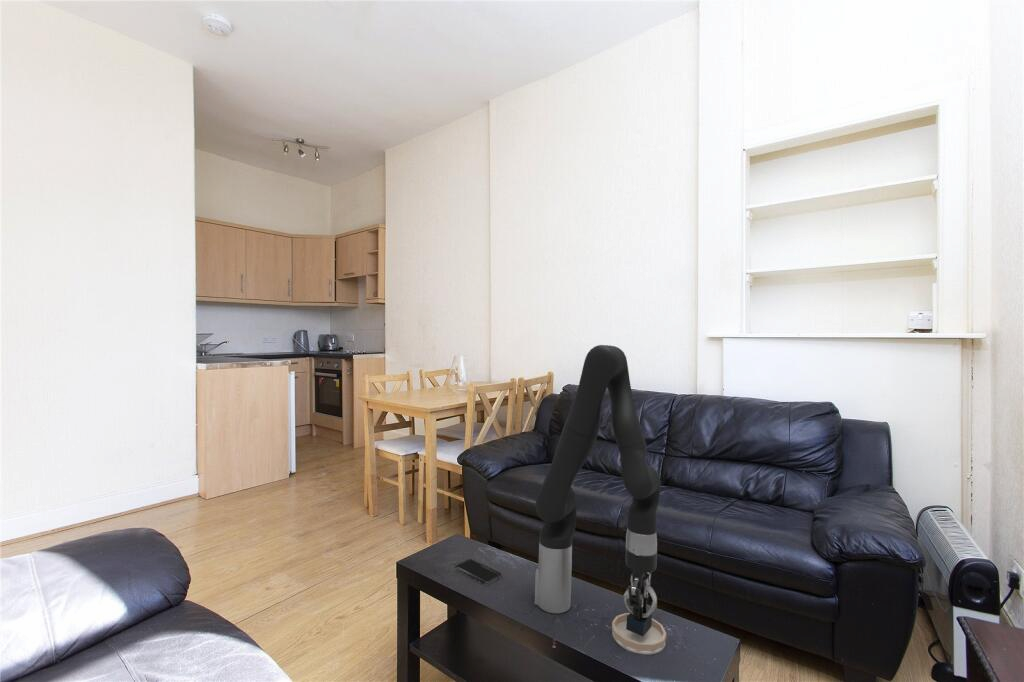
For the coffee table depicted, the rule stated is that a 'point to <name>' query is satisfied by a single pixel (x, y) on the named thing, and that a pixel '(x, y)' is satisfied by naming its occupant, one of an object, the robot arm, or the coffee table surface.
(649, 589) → the watch
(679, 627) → the coffee table surface
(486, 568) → the phone
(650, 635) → the dish
